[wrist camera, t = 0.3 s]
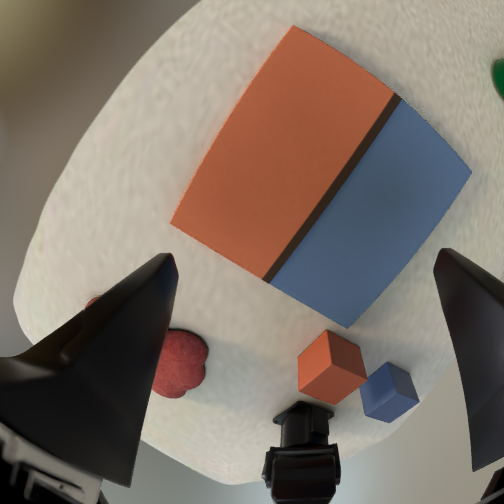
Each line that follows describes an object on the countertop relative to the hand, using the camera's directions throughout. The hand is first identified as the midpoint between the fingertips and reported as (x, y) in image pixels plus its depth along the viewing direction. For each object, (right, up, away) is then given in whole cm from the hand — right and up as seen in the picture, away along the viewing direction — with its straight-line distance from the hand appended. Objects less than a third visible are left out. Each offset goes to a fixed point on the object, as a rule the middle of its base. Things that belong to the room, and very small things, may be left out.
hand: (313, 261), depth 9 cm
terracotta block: (+7, -11, +20) cm, 24 cm away
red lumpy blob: (-16, -12, +24) cm, 31 cm away
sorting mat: (+5, +5, +13) cm, 15 cm away
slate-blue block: (+15, -16, +22) cm, 31 cm away
